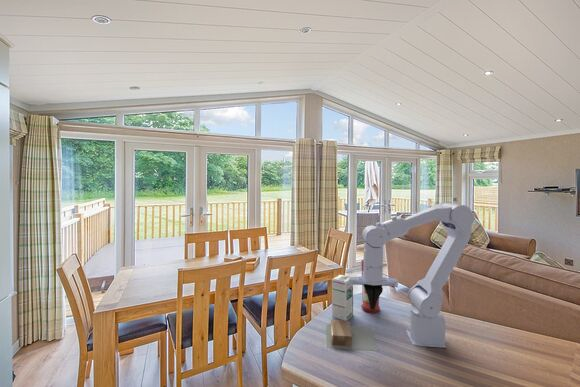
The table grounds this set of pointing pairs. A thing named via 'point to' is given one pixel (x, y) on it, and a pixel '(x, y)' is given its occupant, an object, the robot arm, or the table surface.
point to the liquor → (365, 298)
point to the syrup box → (342, 297)
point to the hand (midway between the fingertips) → (372, 307)
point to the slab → (341, 333)
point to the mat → (356, 339)
